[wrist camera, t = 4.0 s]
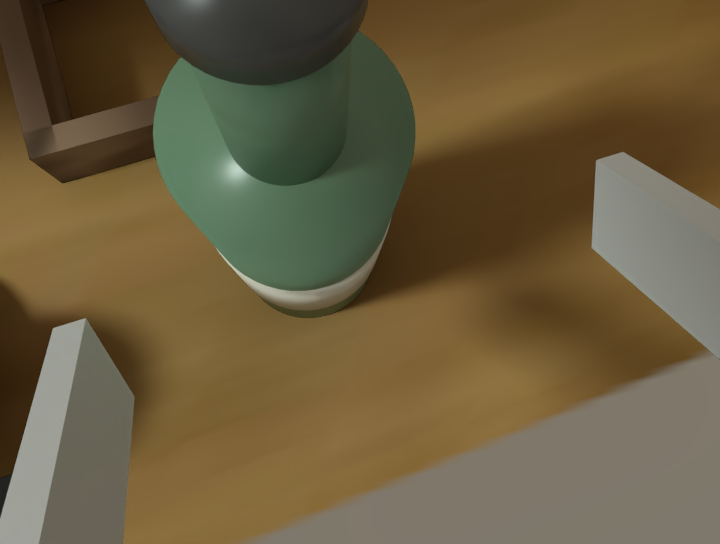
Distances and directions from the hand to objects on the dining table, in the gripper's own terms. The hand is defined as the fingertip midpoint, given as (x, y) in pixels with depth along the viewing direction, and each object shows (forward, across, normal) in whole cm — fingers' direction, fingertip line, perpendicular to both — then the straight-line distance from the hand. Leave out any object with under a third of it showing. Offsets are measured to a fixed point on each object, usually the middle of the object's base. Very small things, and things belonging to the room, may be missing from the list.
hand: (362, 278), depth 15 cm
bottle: (+11, -1, -6) cm, 13 cm away
